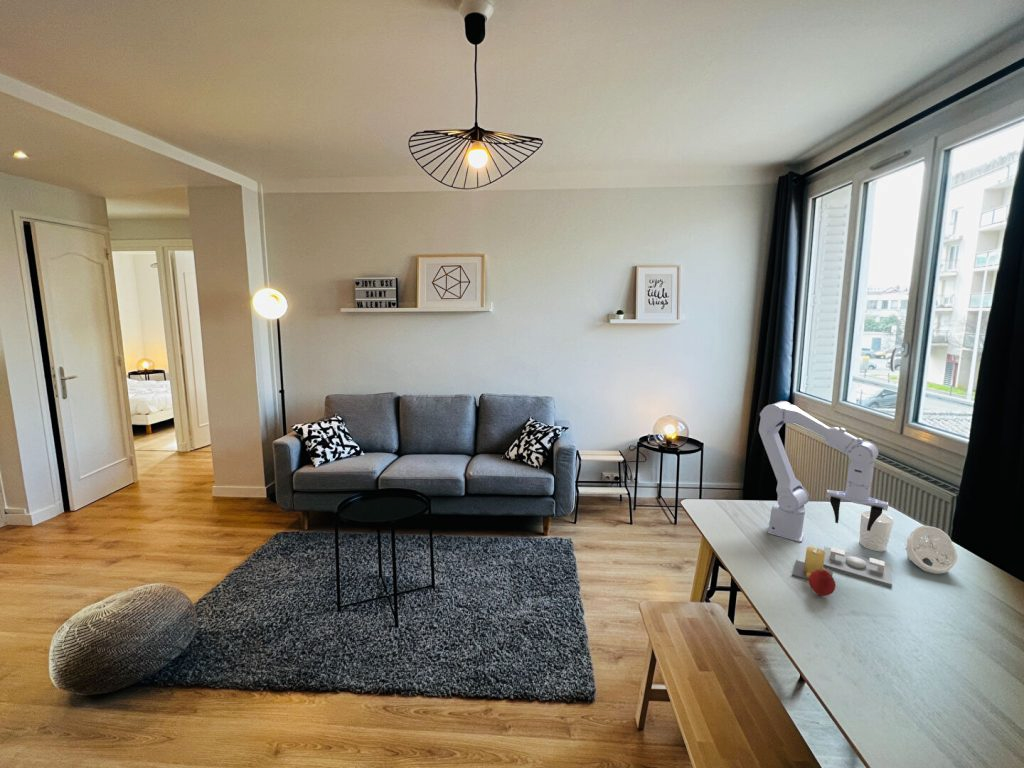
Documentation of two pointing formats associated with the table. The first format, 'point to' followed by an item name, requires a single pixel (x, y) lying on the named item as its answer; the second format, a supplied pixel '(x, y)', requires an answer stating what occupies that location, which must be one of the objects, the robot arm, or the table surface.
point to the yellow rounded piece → (813, 560)
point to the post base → (858, 566)
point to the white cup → (875, 532)
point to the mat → (801, 573)
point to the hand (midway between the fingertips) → (852, 525)
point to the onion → (822, 582)
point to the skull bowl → (931, 549)
